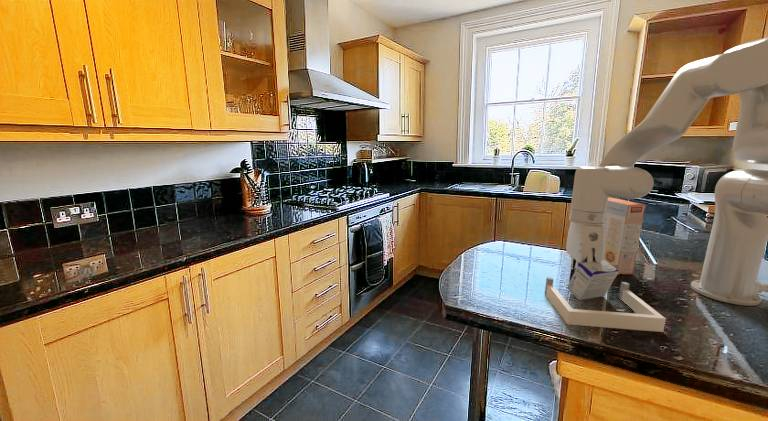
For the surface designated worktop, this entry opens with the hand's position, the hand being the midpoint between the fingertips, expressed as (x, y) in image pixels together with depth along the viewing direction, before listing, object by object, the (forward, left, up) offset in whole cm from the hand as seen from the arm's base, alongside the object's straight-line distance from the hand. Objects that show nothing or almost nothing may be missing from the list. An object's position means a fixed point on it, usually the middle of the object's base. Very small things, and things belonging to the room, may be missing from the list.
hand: (576, 284), depth 87 cm
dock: (0, +11, -1) cm, 11 cm away
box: (-1, +3, -1) cm, 4 cm away
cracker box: (-16, -19, -1) cm, 25 cm away
